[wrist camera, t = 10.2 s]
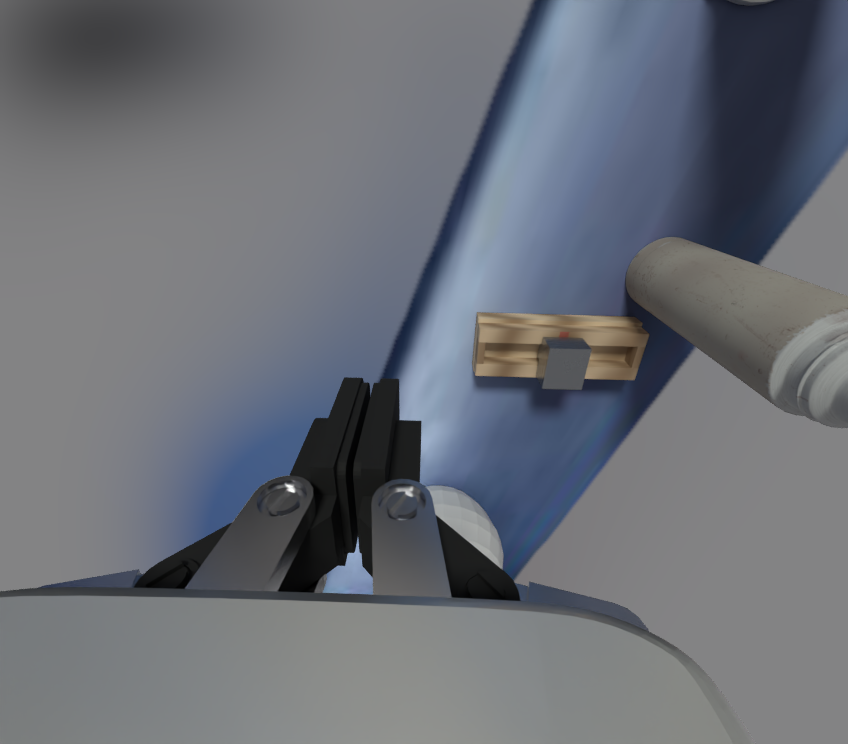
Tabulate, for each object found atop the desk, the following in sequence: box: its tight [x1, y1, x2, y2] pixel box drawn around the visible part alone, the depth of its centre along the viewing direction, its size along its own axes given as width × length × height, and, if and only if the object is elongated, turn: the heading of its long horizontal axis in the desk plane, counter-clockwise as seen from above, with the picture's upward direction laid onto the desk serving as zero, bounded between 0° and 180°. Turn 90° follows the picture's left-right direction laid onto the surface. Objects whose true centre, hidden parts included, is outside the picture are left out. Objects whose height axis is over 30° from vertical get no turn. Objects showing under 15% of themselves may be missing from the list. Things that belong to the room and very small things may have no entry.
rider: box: [536, 337, 592, 390], centre depth 45 cm, size 4×5×5 cm
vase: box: [426, 485, 503, 569], centre depth 51 cm, size 18×18×30 cm
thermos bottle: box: [626, 237, 848, 428], centre depth 33 cm, size 8×8×28 cm
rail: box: [472, 312, 649, 380], centre depth 48 cm, size 19×7×4 cm, turn 89°
